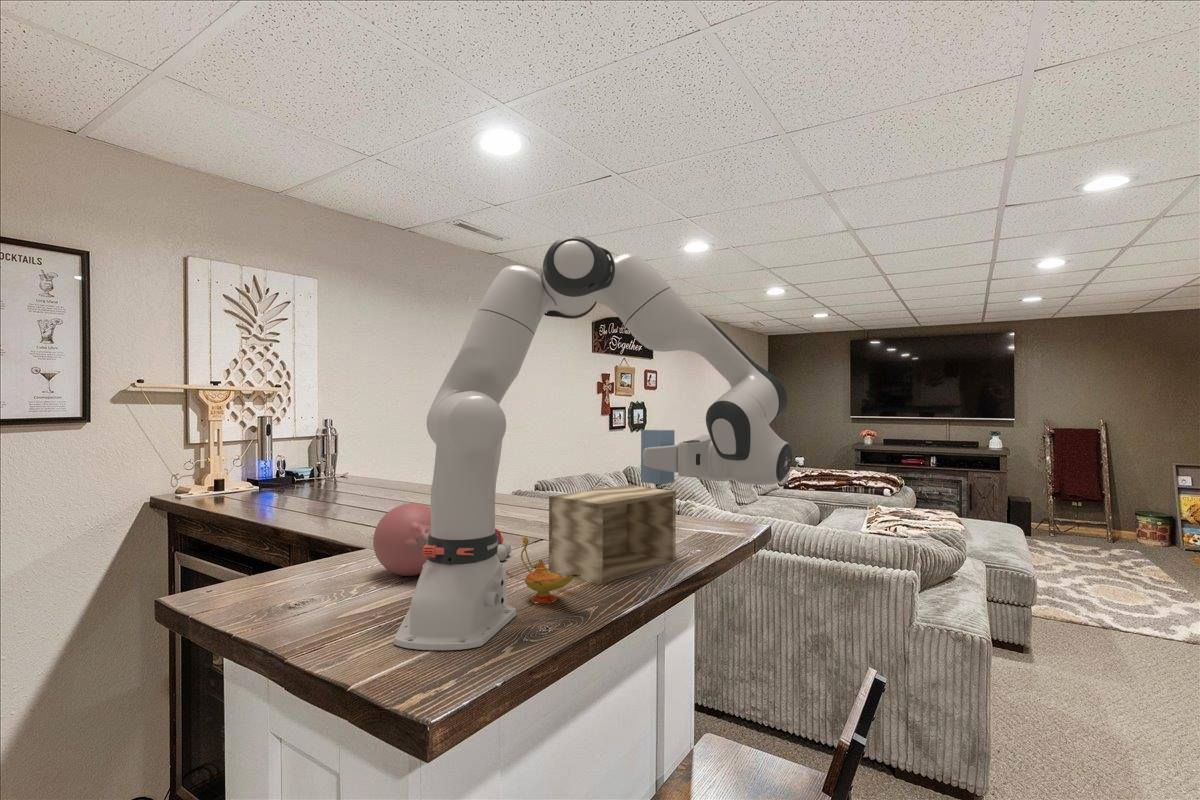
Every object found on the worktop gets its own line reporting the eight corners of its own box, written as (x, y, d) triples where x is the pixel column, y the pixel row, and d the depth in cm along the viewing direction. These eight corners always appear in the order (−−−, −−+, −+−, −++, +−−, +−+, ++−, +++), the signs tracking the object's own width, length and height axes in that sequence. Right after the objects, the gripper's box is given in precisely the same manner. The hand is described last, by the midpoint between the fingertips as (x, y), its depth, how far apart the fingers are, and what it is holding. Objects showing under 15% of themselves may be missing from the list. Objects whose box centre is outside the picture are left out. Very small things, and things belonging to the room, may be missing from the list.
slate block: (674, 482, 124) (674, 430, 124) (659, 484, 120) (660, 430, 120) (655, 480, 127) (655, 429, 127) (640, 482, 124) (641, 429, 124)
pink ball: (386, 595, 113) (387, 515, 113) (366, 571, 130) (367, 501, 130) (464, 583, 121) (464, 508, 121) (435, 561, 138) (436, 496, 138)
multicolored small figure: (513, 554, 146) (513, 525, 146) (503, 565, 136) (503, 533, 136) (479, 553, 146) (479, 524, 146) (467, 564, 137) (467, 532, 137)
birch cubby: (675, 564, 136) (675, 491, 137) (599, 589, 117) (599, 504, 118) (626, 553, 147) (626, 485, 147) (548, 574, 128) (549, 496, 128)
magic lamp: (564, 619, 101) (564, 554, 101) (506, 594, 114) (506, 537, 114) (594, 609, 106) (594, 548, 106) (535, 587, 119) (535, 532, 119)
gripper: (737, 439, 123) (683, 437, 132) (680, 443, 108) (623, 440, 117) (737, 470, 123) (682, 465, 132) (679, 477, 108) (622, 471, 117)
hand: (654, 453), depth 125 cm, fingers closed on slate block, 5 cm apart
